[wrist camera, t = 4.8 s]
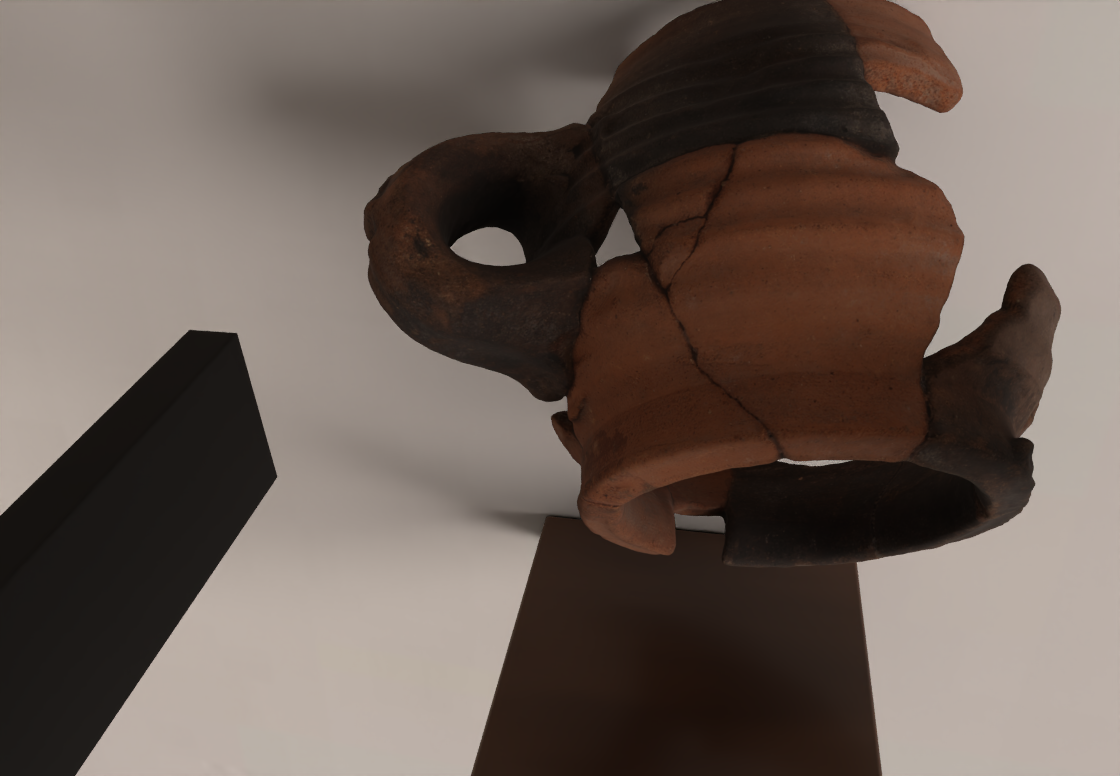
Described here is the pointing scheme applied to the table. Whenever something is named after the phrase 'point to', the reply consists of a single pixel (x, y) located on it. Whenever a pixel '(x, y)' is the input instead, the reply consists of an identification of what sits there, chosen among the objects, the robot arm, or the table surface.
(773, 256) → the pottery mug
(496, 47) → the table surface
